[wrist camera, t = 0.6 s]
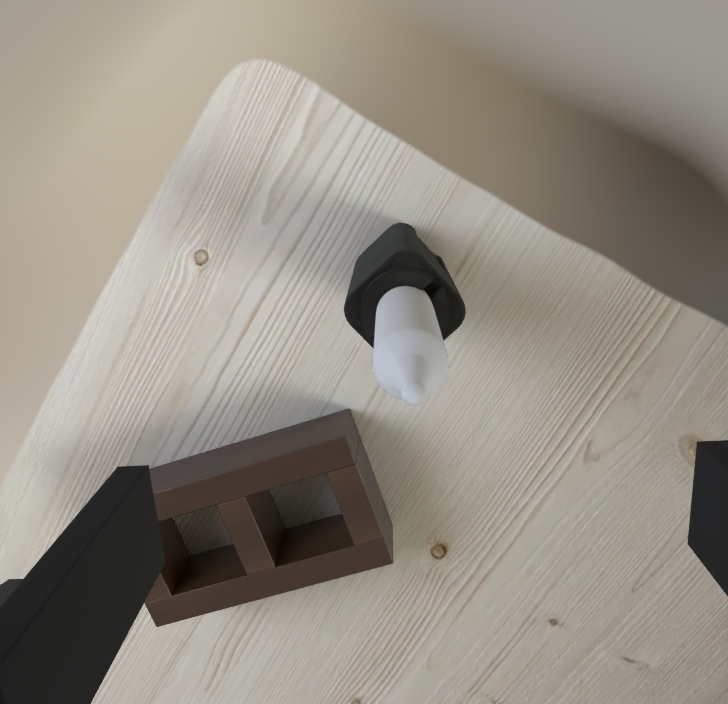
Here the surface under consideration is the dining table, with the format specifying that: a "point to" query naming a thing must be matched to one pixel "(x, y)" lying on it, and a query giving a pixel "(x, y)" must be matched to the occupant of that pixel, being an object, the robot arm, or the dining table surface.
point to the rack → (267, 519)
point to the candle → (404, 312)
